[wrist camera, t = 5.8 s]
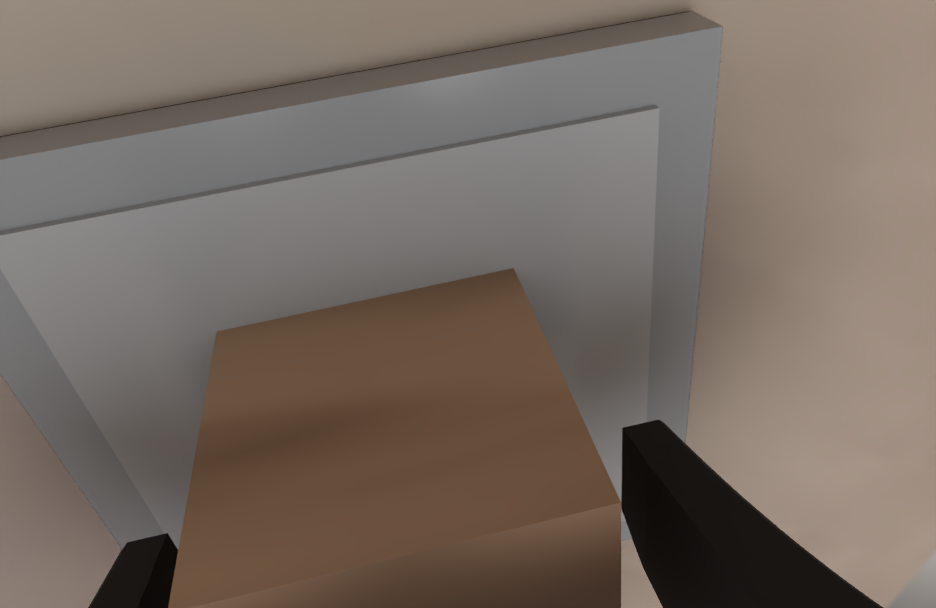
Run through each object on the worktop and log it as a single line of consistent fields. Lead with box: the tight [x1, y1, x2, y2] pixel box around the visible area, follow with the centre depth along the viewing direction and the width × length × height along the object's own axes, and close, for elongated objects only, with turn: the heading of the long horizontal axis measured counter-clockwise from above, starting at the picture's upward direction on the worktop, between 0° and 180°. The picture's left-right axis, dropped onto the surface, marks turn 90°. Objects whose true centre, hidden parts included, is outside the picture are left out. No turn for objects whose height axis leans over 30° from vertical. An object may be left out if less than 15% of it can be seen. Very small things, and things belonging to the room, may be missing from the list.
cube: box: [168, 268, 621, 608], centre depth 11 cm, size 5×5×5 cm
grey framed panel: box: [0, 11, 723, 549], centre depth 14 cm, size 12×12×1 cm
